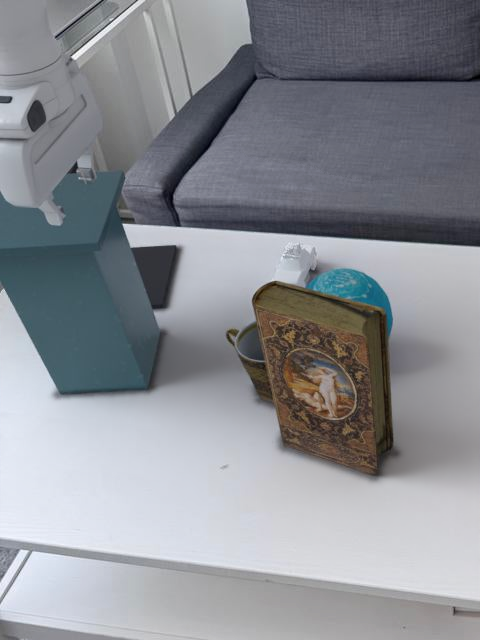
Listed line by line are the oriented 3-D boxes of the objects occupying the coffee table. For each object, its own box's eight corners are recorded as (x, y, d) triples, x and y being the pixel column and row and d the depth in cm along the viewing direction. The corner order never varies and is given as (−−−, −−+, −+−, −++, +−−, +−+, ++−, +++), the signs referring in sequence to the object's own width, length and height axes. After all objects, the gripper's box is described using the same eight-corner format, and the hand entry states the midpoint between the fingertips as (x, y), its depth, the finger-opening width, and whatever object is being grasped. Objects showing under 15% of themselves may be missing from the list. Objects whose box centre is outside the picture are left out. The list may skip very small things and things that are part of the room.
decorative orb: (323, 320, 127) (312, 241, 115) (406, 336, 123) (404, 257, 111) (287, 378, 118) (271, 299, 106) (375, 397, 115) (370, 318, 103)
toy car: (269, 298, 131) (263, 265, 125) (290, 258, 138) (284, 225, 132) (302, 302, 130) (297, 268, 124) (321, 262, 137) (317, 228, 131)
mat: (163, 308, 130) (162, 304, 130) (89, 312, 131) (88, 308, 130) (177, 248, 141) (176, 244, 141) (109, 252, 142) (107, 248, 141)
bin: (147, 389, 118) (89, 243, 97) (59, 394, 118) (-18, 249, 97) (160, 332, 126) (109, 186, 106) (78, 337, 127) (11, 192, 106)
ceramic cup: (322, 379, 118) (315, 328, 110) (288, 420, 113) (278, 370, 105) (254, 355, 122) (242, 305, 114) (218, 394, 117) (203, 344, 109)
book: (277, 444, 110) (244, 303, 90) (295, 419, 113) (267, 278, 93) (378, 478, 105) (367, 337, 85) (394, 451, 108) (387, 309, 88)
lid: (101, 251, 96) (98, 242, 95) (-37, 259, 96) (-42, 250, 95) (140, 134, 115) (138, 126, 114) (24, 141, 115) (21, 133, 114)
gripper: (45, 45, 90) (84, 158, 101) (-41, 127, 78) (14, 245, 89) (94, 48, 89) (128, 161, 100) (15, 131, 77) (63, 249, 88)
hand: (74, 201), depth 94 cm, fingers open, 8 cm apart
